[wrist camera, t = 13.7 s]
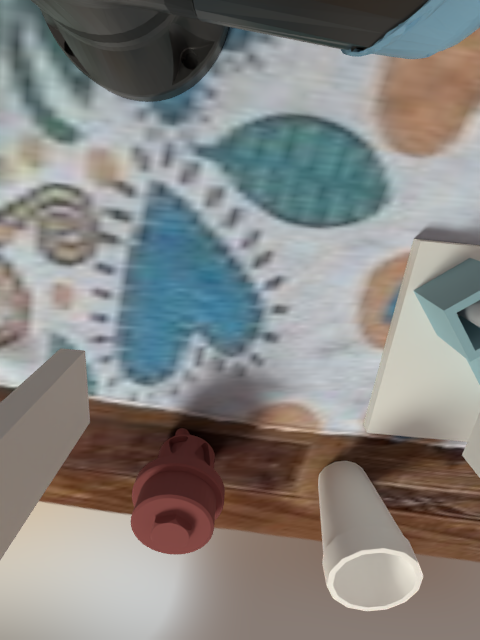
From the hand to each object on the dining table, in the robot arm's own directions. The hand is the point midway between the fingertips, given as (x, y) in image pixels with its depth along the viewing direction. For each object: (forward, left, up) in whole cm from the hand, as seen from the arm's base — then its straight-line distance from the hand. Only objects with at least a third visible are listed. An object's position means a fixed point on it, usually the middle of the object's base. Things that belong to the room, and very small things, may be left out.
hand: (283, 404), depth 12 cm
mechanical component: (+26, -6, -27) cm, 38 cm away
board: (+8, +24, -27) cm, 37 cm away
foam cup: (+29, +15, -27) cm, 42 cm away
